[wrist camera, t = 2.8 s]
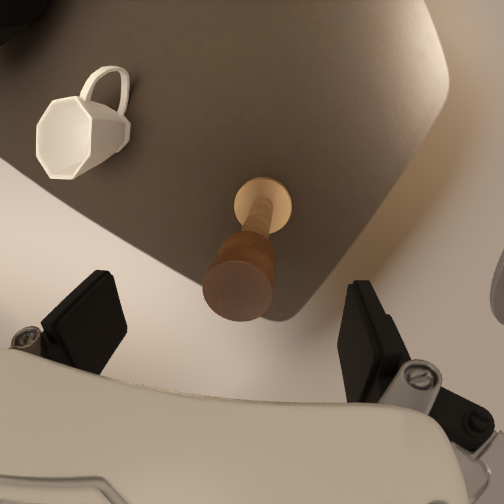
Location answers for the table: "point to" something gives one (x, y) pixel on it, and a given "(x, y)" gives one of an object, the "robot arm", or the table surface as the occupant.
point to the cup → (82, 130)
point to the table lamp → (18, 16)
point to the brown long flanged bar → (249, 253)
